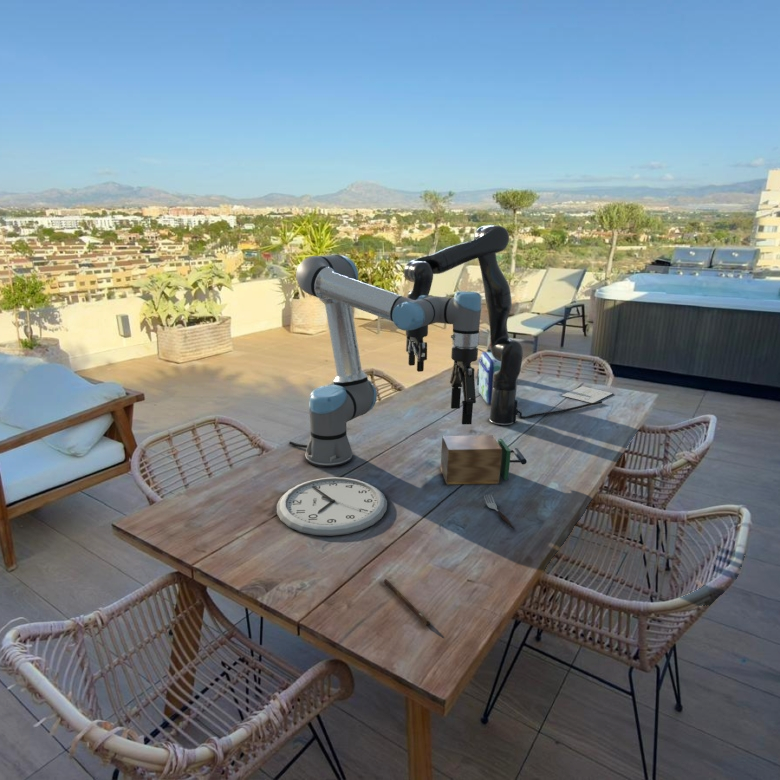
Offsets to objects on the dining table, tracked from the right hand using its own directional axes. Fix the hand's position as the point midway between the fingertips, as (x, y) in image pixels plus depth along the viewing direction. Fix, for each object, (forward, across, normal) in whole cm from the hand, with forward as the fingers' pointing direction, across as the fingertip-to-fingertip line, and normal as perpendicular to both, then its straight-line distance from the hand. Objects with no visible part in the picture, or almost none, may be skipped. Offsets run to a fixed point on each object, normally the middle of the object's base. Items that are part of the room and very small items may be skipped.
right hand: (415, 368), depth 181 cm
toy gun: (+27, +70, -65) cm, 99 cm away
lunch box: (+27, +33, -49) cm, 65 cm away
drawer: (+25, -34, -12) cm, 44 cm away
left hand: (+7, -30, -3) cm, 31 cm away
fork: (+26, -56, -4) cm, 62 cm away
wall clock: (+26, -39, +38) cm, 60 cm away
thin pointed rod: (+26, -81, +32) cm, 91 cm away
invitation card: (+27, +28, -96) cm, 103 cm away
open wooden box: (+26, -33, -6) cm, 42 cm away
